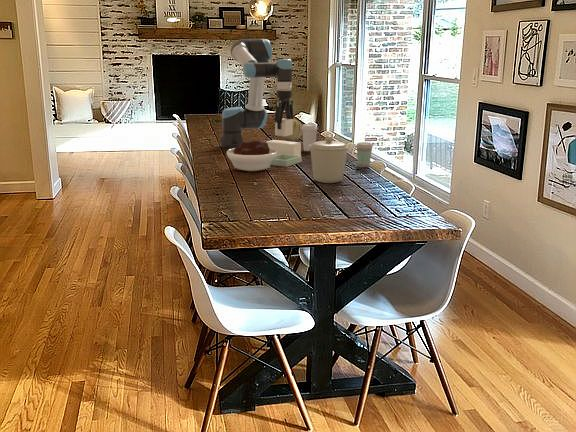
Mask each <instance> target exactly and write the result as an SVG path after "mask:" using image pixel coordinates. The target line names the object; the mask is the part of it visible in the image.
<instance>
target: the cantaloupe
mask: <svg viewBox="0 0 576 432" xmlns="http://www.w3.org/2000/svg"><path fill="white" fill-rule="evenodd" d="M302 126H303V124H302V123H301V121H299V120H298V119H296V117H294V119H293V135H288V136H281V138H282V139H283V140H284V141H290V142H297V141H299V139H300V138H301V137H303V133H302V129H301V128H302Z"/></svg>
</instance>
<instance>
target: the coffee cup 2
mask: <svg viewBox="0 0 576 432" xmlns="http://www.w3.org/2000/svg"><path fill="white" fill-rule="evenodd" d="M355 148H356V159H357V167H358V168H362V167H367V168H369V167H370V163H371V159H372V153H373V152H372V151H373V148H374V147H373V144H372V143H370V142H357V143H356V146H355Z"/></svg>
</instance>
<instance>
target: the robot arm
mask: <svg viewBox="0 0 576 432" xmlns="http://www.w3.org/2000/svg"><path fill="white" fill-rule="evenodd" d="M230 56H231V57H232V59H233V60H235V62H238V63H239V64H240V65H241V66H242V67H243V68H242V69H243V76H244V77H245V78H249V86H248V98H247V99H248V101H247V104H246V105H245V108H244V109H243V108H242V107H241V106H235V107H234V106H233V107H232V106H231V107H227V108H224V109H223V110H222V115H221V122H222V123H221V124H222V135H221V138H220V142H219V147H220V148H224V149H233V148H236V147H239V146H240V145H241V144H242V142H245V139H244V136H243V130H247V129H249V130H250V129H251V130H252V129H255V130H257V129H262V128H264V127H265V126H266V125H267V121H268V111H267V109H265V106H264V104H263V103H264V102H263V99H264V87H265V86H264V85H265V78H277V79H276V81H277V82H276V85H277V86H276V89H277V92H276V97H277V98H278V102H277V101H276V102H275V114H274V123H275V122H276V123H277V135H280V136H279V137H282V136H283V123H282V118H284V113H285V119H294V118H295V117H294V106H293V105H294V101H293V100H291V98H292V97H293V92H292V91H293V90H292V89H293V88H292V86H293V62H292V59H291V58H279V59H277V60H276V61H274V62H269V61H271V60H272V59H273V47H272V43H271V41H270V40H269V39H266V38H241V39H237V41H235V42H234V43H233V44H232V46H231V47H230ZM277 135H276V136H277Z"/></svg>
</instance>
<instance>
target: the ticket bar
mask: <svg viewBox="0 0 576 432" xmlns="http://www.w3.org/2000/svg"><path fill="white" fill-rule="evenodd" d="M265 142H266V143H268V147H269V148H271V149H274V150H276V151H277V155H279V154H288V155H297V156H302V153H301V152H302V142H300V141H299V142H298V141H293V142H290V141H286V140H280V139H279V140H277V139H272V140H267V141H265Z"/></svg>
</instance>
